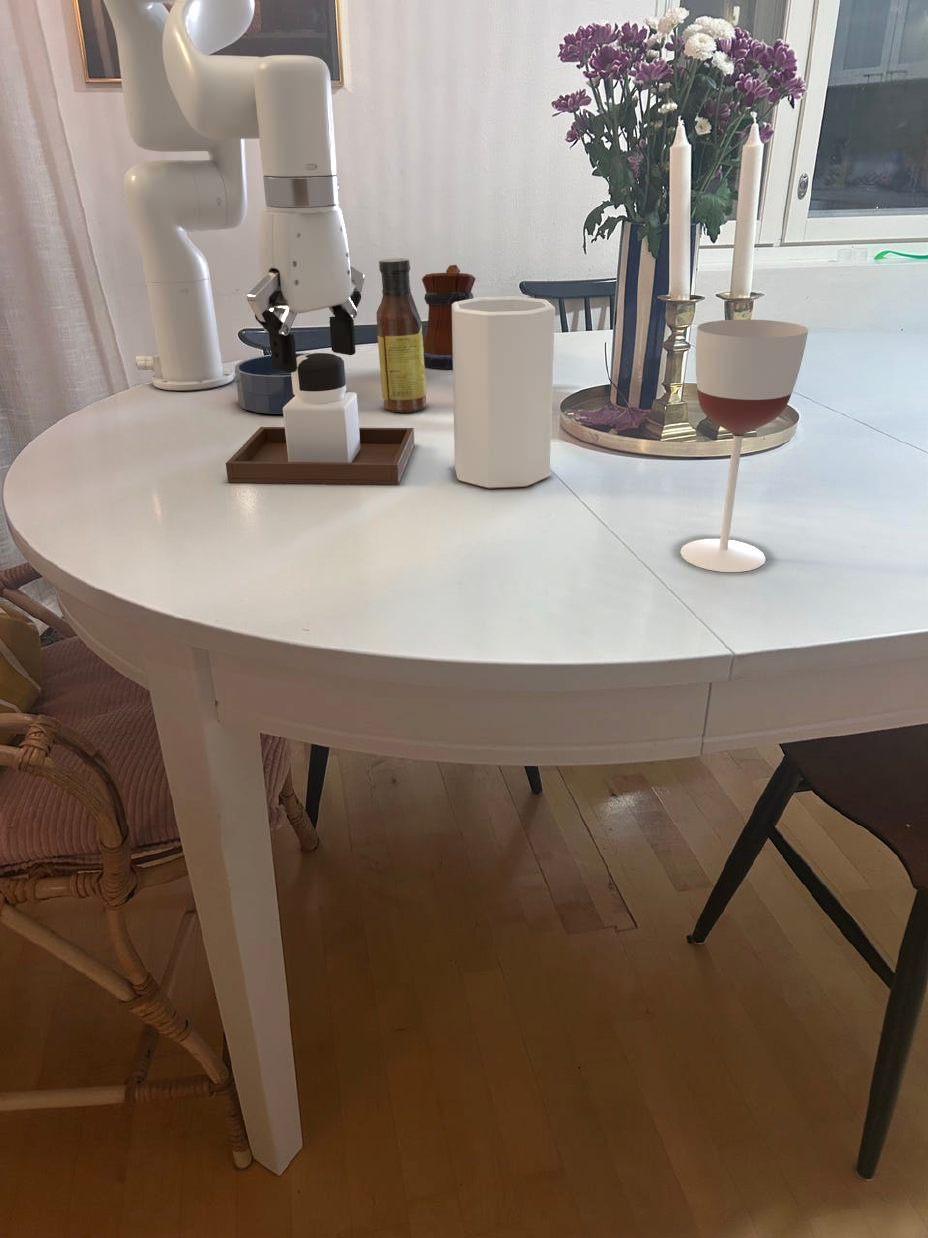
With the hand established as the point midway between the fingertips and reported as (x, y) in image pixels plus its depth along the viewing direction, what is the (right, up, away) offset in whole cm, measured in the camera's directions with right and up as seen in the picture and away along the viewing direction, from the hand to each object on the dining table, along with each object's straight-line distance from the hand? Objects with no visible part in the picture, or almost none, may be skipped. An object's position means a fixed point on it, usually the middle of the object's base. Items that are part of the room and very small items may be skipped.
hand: (315, 361), depth 102 cm
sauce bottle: (+8, +1, +27) cm, 28 cm away
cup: (+21, -13, +1) cm, 25 cm away
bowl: (-8, +3, +31) cm, 32 cm away
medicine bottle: (0, -10, +5) cm, 12 cm away
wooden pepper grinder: (+15, +16, +56) cm, 60 cm away
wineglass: (+40, -24, -20) cm, 51 cm away
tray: (0, -11, +5) cm, 12 cm away
